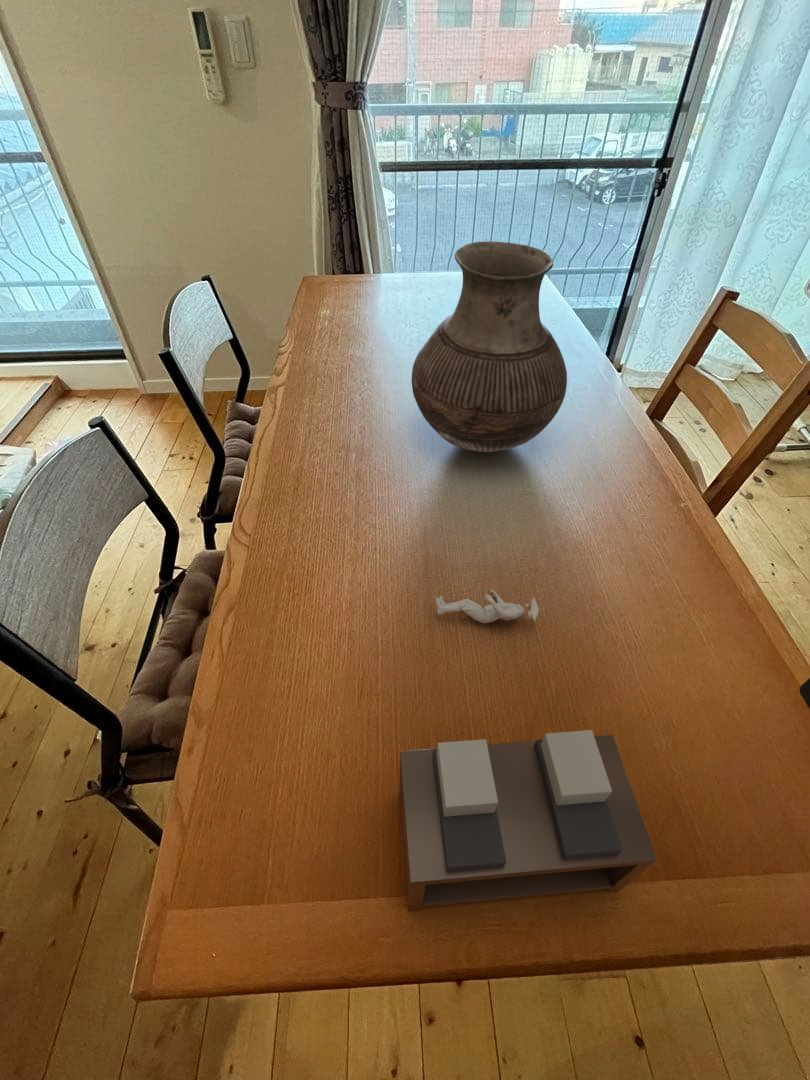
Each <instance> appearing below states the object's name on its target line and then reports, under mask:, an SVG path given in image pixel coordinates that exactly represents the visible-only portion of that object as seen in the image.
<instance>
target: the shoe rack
mask: <svg viewBox="0 0 810 1080" xmlns="http://www.w3.org/2000/svg"><path fill="white" fill-rule="evenodd" d="M594 738H595V741H596V744H597V747H598V750H599V753H600V756H601V759H602V762H603V765H604V768H605V771H606V774H607V777H608V780H609V783H610V786H611V789H612V792H611V794H610V795H609V796H608V798H607V799H606V800H607V803H608V806H609V809H610V812H611V815H612V818H613V821H614V824H615V828H616V831H617V834H618V837H619V840H620V843H621V846H622V851H621V852H620V853H619V854H618V855H607V856H596V857H585V858H574V859H563V858H562V854H561V850H560V846H559V842H558V838H557V834H556V830H555V826H554V822H553V818H552V814H551V810H550V806H549V802H548V798H547V794H546V790H545V786H544V782H543V778H542V774H541V770H540V766H539V762H538V758H537V754H536V750H535V746H534V745H535V742H536V740H528V741H527V740H526V741H516V742H514V741H513V742H502V743H489V744H488V743H487V746H488V752H489V757H490V762H491V767H492V773H493V778H494V783H495V788H496V794H497V799H498V804H497V807H496V810H497V815H498V821H499V826H500V832H501V837H502V842H503V848H504V853H505V858H506V863H505V865H504V866H503V867H493V868H482V869H471V870H461V871H450V872H448V871H447V870H446V862H445V853H444V845H443V836H442V828H441V820H440V811H439V803H438V795H437V786H436V778H435V770H434V761H433V749H434V748H424V749H411V750H400V751H399V791H398V792H399V806H400V807H399V810H400V820H401V822H400V823H401V835H402V850H403V861H404V874H405V875H404V876H405V890H406V902H407V904H406V905H407V912H417V911H418V912H419V911H422V909H423V908H428V907H438V906H449V905H450V906H451V905H459V904H469V903H478V902H491V901H500V900H501V901H502V900H510V899H511V900H512V899H521V898H522V899H523V898H531V897H543V896H551V895H552V896H553V895H563V894H574V893H575V894H576V893H584V892H593V891H594V892H596V891H603V890H604V891H606V893H614V892H620V891H621V890H623V889H624V888H625V887H626V886H627V885H629V883H632V881H633V880H634V879H636V878H637V877H638V876H640V875H641V874H642V873H643V872H644V871H646V870H647V869H648V868H649V867H650V866H652V865H653V864H654V863H655V862H657V860H658V858H657V856H656V854H655V851H654V847H653V845H652V841H651V839H650V836H649V833H648V831H647V828H646V824H645V822H644V819H643V816H642V814H641V810H640V808H639V805H638V802H637V799H636V797H635V794H634V791H633V788H632V786H631V783H630V780H629V777H628V775H627V772H626V768H625V766H624V763H623V761H622V757H621V755H620V751H619V749H618V746H617V743H616V740H615V738H614V735H613V734H605V735H594ZM435 749H437V747H436V748H435Z"/></svg>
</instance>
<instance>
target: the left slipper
mask: <svg viewBox="0 0 810 1080" xmlns="http://www.w3.org/2000/svg"><path fill="white" fill-rule="evenodd" d="M487 745H488V742H487V739H486V738H485V739H471V740H458V741H446V742H438V743H437V745H436V746H437V747H436V748H437V749H436V748H432V749H433V761H434V770H435V778H436V786H437V795H438V803H439V811H440V820H441V828H442V836H443V845H444V853H445V862H446V870H447V871H448V872H450V871H461V870H471V869H482V868H493V867H503V866H504V865H505V863H506V858H505V853H504V848H503V842H502V837H501V832H500V826H499V821H498V815H497V810H496V807H497V804H498V799H497V794H496V788H495V783H494V778H493V773H492V767H491V762H490V757H489V752H488V746H487Z"/></svg>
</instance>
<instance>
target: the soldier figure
mask: <svg viewBox="0 0 810 1080" xmlns="http://www.w3.org/2000/svg"><path fill="white" fill-rule="evenodd" d="M489 592H491V593H493V594H491V595H490V594H488V593H485V594H484V600H487V601H488V602H489V603H490V604H487V605H483V607H484V608H483V607H482V606H481V605H480V604H479V603H477V602H476V601H474V600H471V599H469V598H465V599H464V598H463V599H460V600H457V601H454V602H449V603H447V602H445V601H444V597H443V595H439V597H436V599H435V606H436V607H437V615H438V616H440V615H444V614H453V613H459V612H463V613H464V614H465V615H466V616H468V617H470V618H472V619H473V620H474V621H477V622H479V623H482V624H487V623H493V622H496V621H497V620H498V619H499V620H502V621H507V622H508V621H510V620H511V621H512V620H517V619H518V618H519V617H521V616H523V614H525V618H526V619H527V620H531V619H532V620H533V622H536V620H537V618H538V616H539V613H540V608H539V605H538V603H537V600H536V599H535V597H533V598H532V600H531V603H525V608H524V607H523V606H522V604H520V603H513V602H505V601H504V600H503V598H501V596H500V595H499V594H498V593H497V592H496V591H495V590H493V589H489ZM493 597H494V598H495V599H496V601H495V600H494V598H493ZM527 607H529V611H528V612H526V608H527ZM527 614H528V616H527Z"/></svg>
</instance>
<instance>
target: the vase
mask: <svg viewBox="0 0 810 1080" xmlns="http://www.w3.org/2000/svg"><path fill="white" fill-rule="evenodd" d="M454 260H455V261H456V263H457V264H458V266H459V267H460V269H461V273H462V285H461V286H462V287H461V292H460V295H459V299H458V300H457V304H456V307H455V309H454V311H453V312H452V313H451V314H450V315H448V316H447V317H446V318H444V319H443V320H442V321H441V322H440V323H439V324H438V326H437V327H436V328H435V330H434V331H433V332H432V333H431V335H430V336H429V338H428V339H427V340H426V342H424V344H423V346H422V347H421V348H420V350H419V351H418V353H417V355H416V357H415V359H414V362H413V365H412V371H411V389H412V394H413V398H414V400H415V403H416V405H417V407H418V409H419V411H420V413H421V415H422V417H423V418H424V420H426V422H427V423H428V424H429V426H430V427H431V428H432V429H433V430H434V431H435V432H436V433H437V434H438V435H439V436H440V437H441V438H442V439H443V440H444V441H446V442H448V444H451V445H453V446H455V447H457V448H460V449H463V450H466V451H472V452H478V453H492V452H499V451H505V450H510V449H513V448H517V447H519V446H522V445H524V444H527V443H529V441H531V440H532V439H534V438H535V437H537V436H538V435H539V434H540V433H541V432H542V431H544V429H546V427H548V425H549V424H550V423H552V420H553V419H554V418H555V416H556V415H557V414H558V412H559V411H560V408H562V405H563V402H564V399H565V396H566V393H567V385H568V371H567V367H566V363H565V359H564V356H563V354H562V352H561V348H560V347H559V345H558V343H557V341H556V339H555V337H554V336H553V334H552V333H551V331H550V330H549V329H548V327H546V325H544V324H543V323H542V321H541V316H540V292H541V286H542V283H543V280H544V278H545V275H546V274H547V273H548V272H549V271H551V270H552V268H553V267H554V260H553V259H552V257H551V256H550V255H549V254H548V253H546V252H545V251H542V249H539V248H537V247H534V246H531V245H526V244H521V243H513V242H505V241H491V240H490V241H486V240H485V241H475V242H470V243H467V244H464V245H463V246H461V247H459V248H458V249H457V250H456V251H455V252H454Z"/></svg>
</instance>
